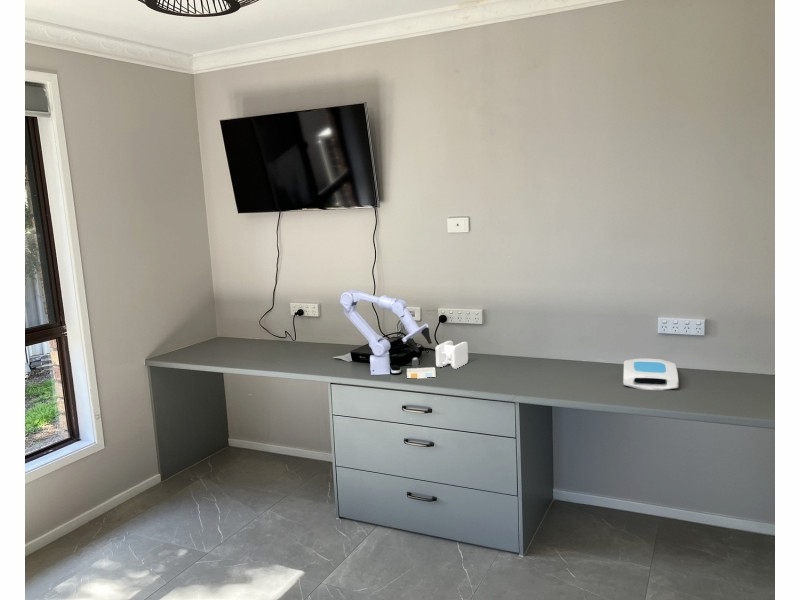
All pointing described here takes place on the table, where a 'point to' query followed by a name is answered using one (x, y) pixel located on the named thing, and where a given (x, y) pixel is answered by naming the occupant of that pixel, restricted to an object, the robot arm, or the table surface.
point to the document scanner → (650, 373)
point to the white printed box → (421, 372)
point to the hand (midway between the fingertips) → (424, 347)
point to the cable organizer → (451, 354)
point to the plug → (415, 363)
